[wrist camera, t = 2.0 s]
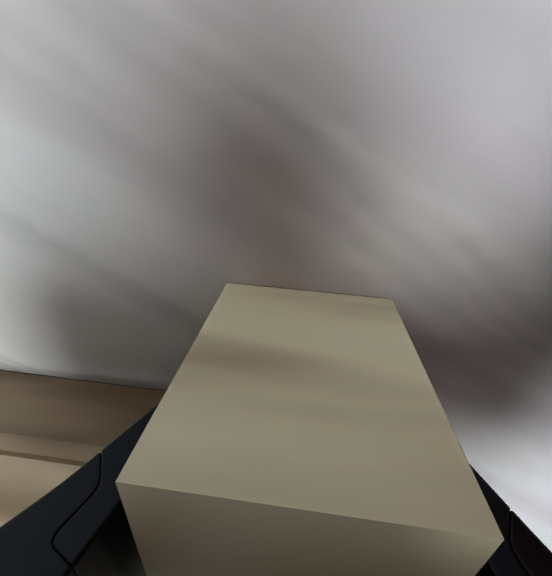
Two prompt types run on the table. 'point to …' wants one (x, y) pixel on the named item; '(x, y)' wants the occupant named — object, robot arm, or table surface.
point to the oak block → (303, 450)
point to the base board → (57, 430)
